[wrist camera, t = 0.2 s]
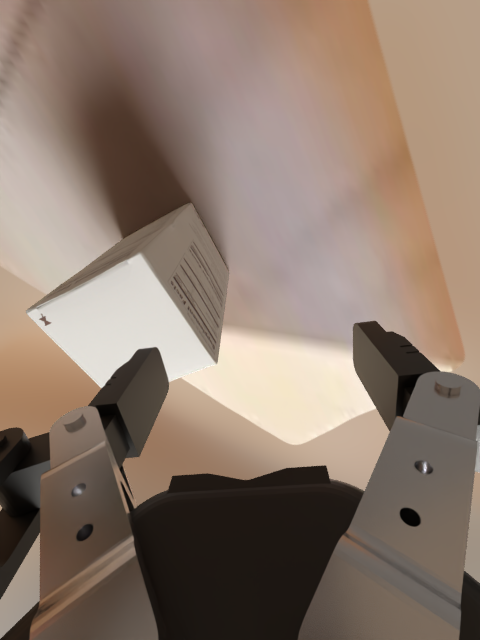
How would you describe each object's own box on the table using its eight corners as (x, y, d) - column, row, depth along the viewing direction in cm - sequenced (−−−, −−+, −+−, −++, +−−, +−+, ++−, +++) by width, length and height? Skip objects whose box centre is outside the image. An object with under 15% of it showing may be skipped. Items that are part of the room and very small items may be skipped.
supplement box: (166, 303, 36) (112, 406, 22) (120, 238, 32) (16, 314, 18) (232, 273, 34) (220, 367, 19) (192, 199, 29) (139, 249, 15)
